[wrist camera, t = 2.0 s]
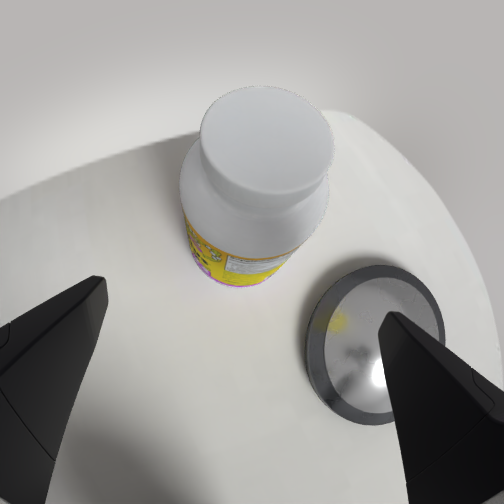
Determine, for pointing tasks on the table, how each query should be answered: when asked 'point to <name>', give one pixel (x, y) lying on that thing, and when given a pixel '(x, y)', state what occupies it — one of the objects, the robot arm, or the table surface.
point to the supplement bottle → (255, 183)
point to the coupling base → (363, 339)
